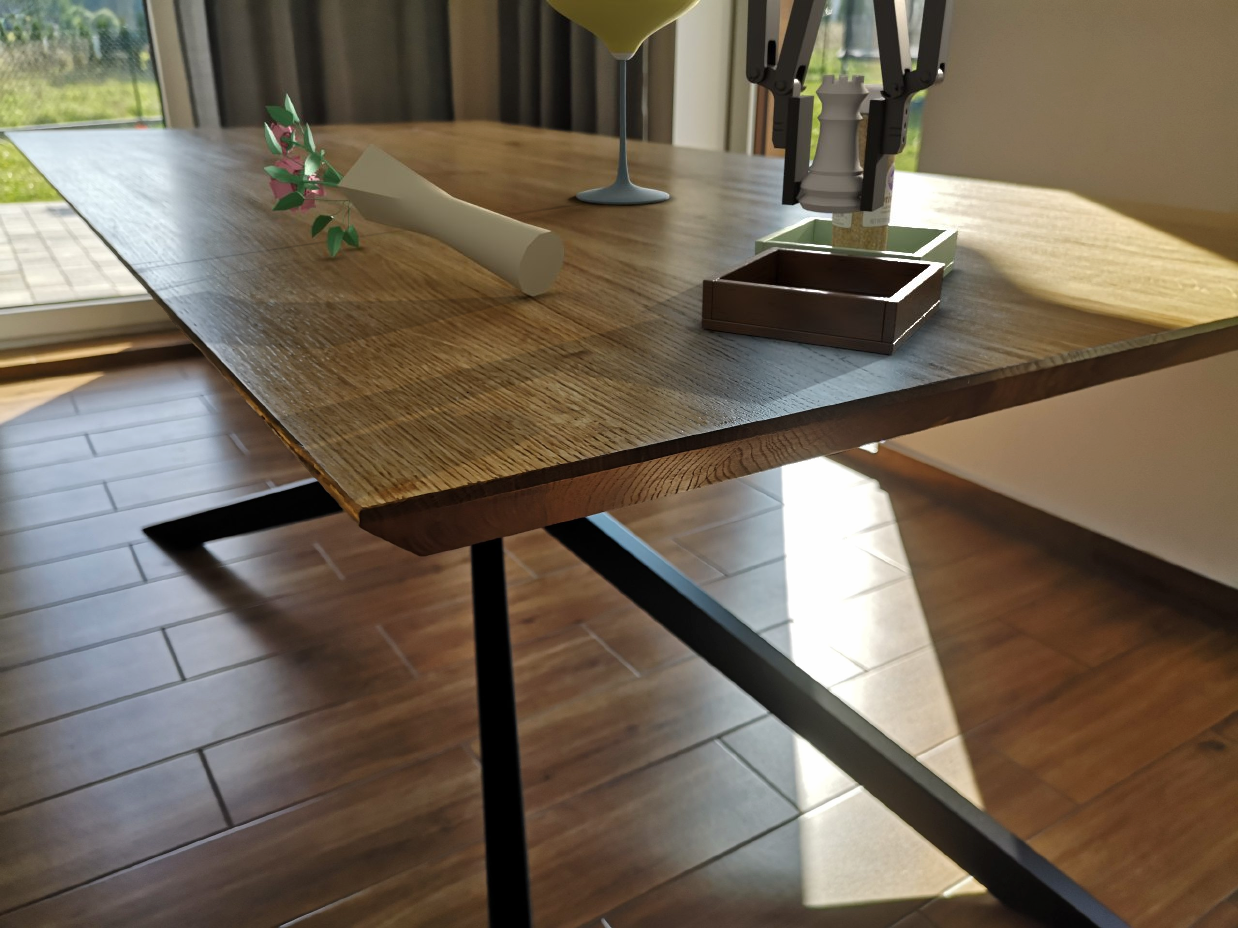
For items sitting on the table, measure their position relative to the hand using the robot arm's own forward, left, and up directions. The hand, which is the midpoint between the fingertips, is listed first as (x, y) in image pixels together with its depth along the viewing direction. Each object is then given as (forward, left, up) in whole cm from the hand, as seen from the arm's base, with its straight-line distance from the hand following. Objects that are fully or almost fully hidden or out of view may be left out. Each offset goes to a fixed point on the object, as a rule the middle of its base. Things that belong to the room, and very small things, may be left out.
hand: (832, 204), depth 66 cm
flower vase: (+37, 0, -8) cm, 37 cm away
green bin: (+2, -14, -7) cm, 16 cm away
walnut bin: (0, 0, -7) cm, 7 cm away
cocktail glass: (+38, -42, -8) cm, 57 cm away
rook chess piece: (0, 0, 0) cm, 0 cm away
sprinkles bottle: (+2, -14, -7) cm, 16 cm away
